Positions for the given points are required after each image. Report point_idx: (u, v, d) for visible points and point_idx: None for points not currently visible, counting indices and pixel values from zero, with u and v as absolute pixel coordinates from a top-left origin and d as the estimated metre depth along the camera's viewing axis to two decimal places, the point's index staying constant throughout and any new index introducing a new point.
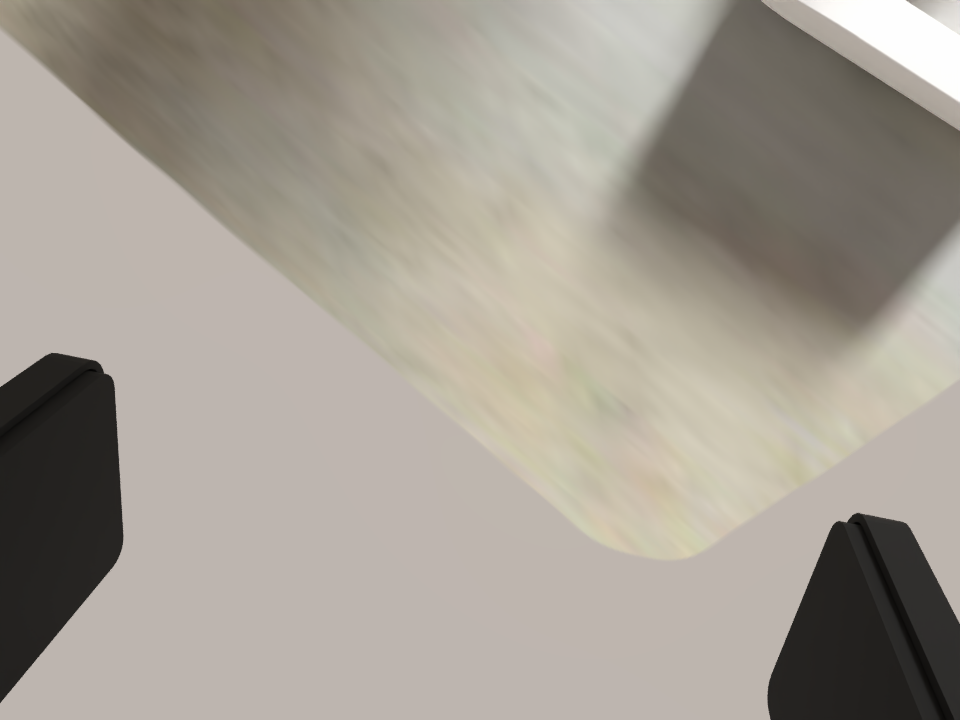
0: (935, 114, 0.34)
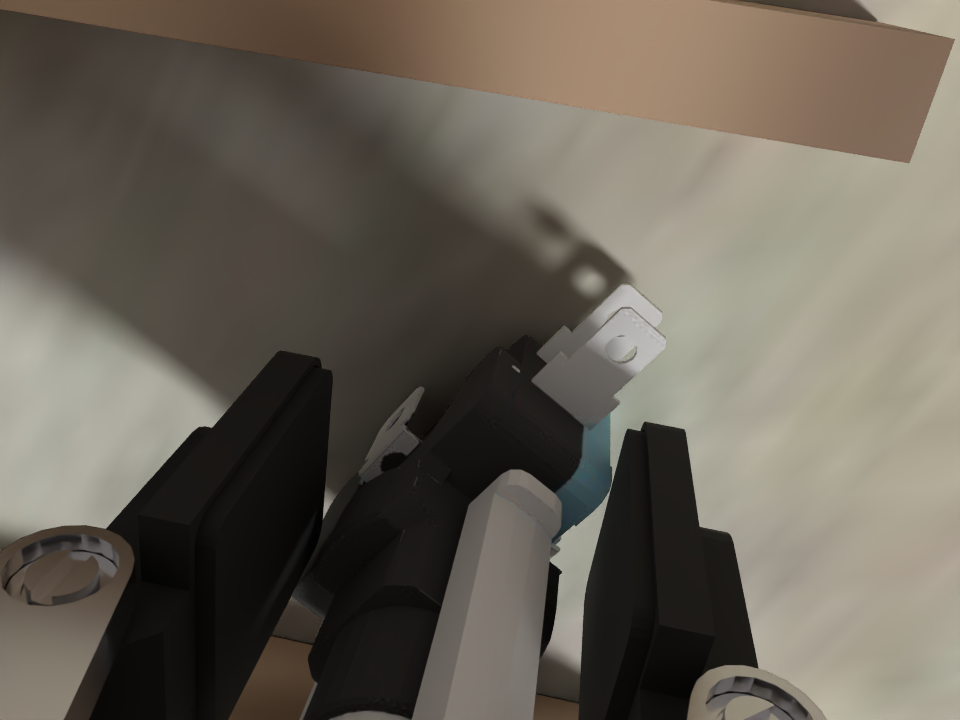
0: None
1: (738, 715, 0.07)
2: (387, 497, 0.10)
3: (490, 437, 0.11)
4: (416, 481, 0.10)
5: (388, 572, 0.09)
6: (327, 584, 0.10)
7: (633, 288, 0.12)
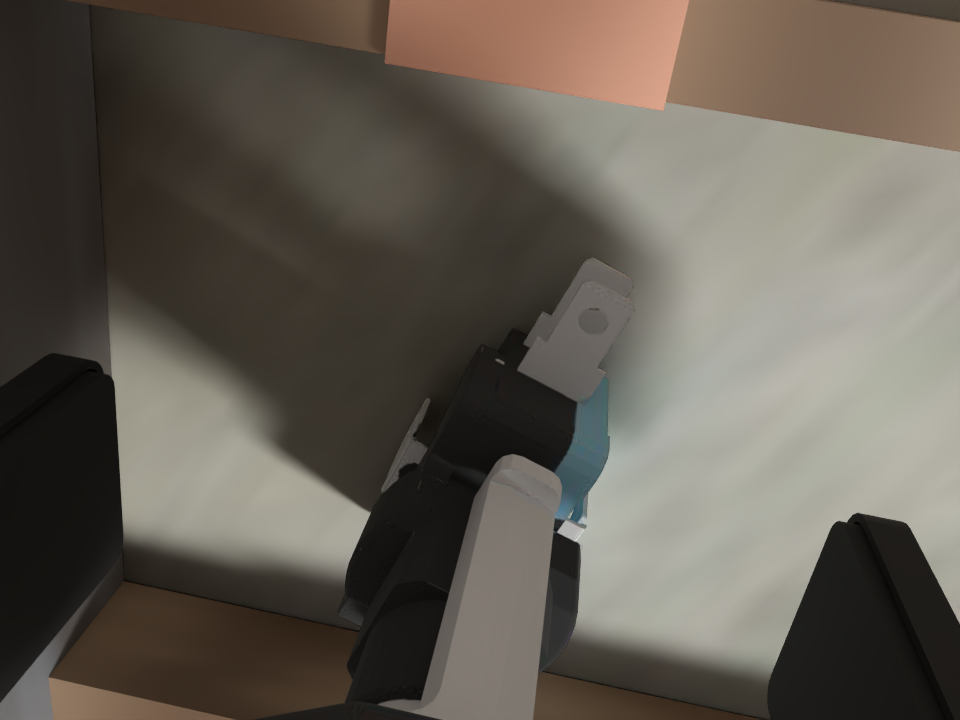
0: None
1: None
2: (394, 504, 0.11)
3: (481, 430, 0.11)
4: (420, 484, 0.11)
5: (399, 572, 0.10)
6: (358, 596, 0.11)
7: (597, 261, 0.12)
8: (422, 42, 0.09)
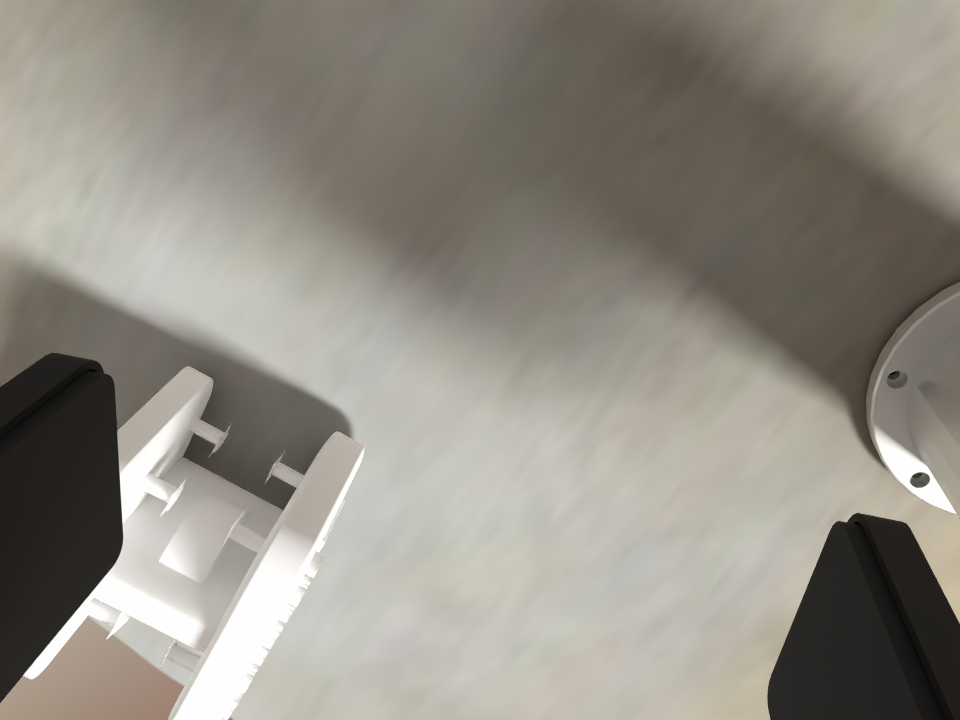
0: None
1: None
2: None
3: None
4: None
5: None
6: None
7: None
8: None
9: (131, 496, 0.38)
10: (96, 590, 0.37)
